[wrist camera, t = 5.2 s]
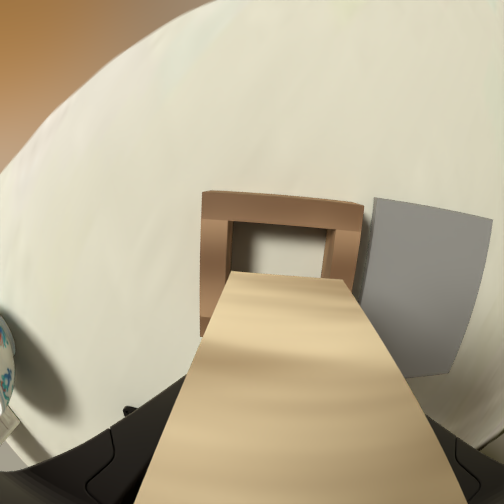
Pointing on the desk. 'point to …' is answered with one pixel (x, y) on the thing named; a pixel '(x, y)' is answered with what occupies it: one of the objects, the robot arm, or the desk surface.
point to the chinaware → (6, 365)
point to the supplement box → (7, 424)
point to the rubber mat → (422, 281)
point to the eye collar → (272, 212)
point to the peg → (295, 408)
